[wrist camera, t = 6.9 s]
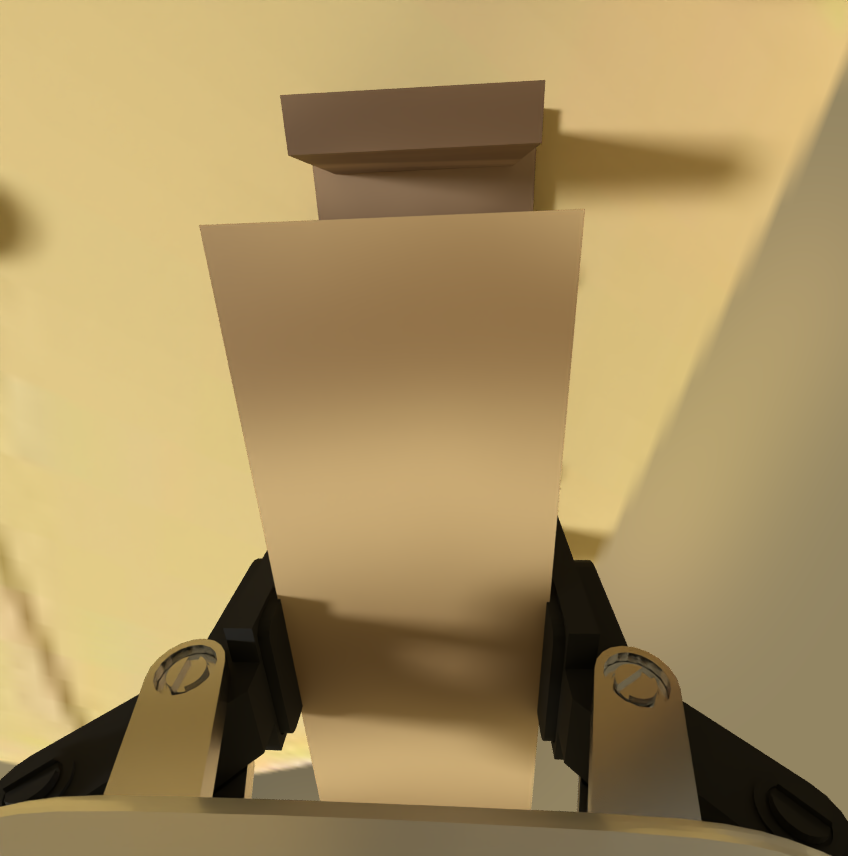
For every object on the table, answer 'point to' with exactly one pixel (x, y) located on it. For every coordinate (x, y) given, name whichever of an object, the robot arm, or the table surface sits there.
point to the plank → (408, 481)
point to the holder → (419, 148)
